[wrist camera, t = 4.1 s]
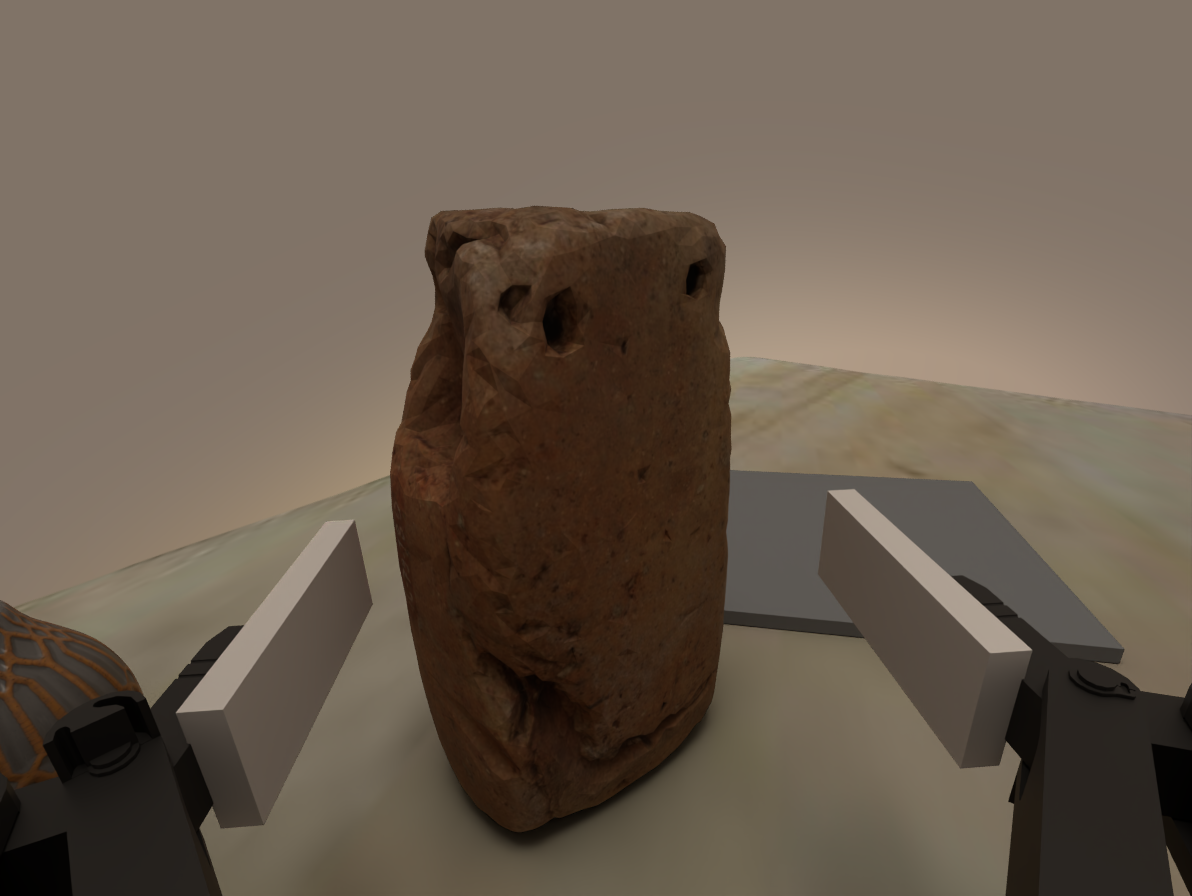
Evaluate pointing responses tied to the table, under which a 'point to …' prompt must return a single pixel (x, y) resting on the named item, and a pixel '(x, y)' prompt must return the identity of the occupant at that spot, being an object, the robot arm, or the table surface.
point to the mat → (920, 511)
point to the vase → (46, 687)
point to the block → (566, 498)
